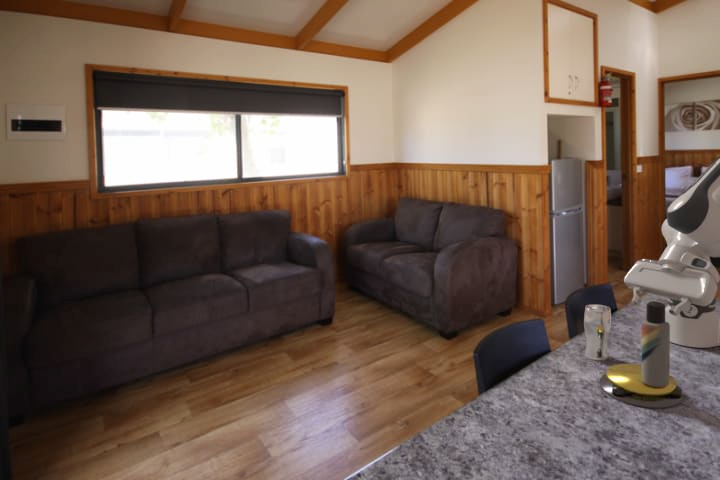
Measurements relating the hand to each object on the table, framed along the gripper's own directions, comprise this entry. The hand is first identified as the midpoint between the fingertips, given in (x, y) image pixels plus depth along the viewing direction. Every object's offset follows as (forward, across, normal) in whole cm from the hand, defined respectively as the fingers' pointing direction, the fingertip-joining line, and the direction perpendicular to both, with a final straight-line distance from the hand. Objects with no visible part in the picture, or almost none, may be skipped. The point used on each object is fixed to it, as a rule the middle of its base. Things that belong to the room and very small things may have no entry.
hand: (653, 308), depth 116 cm
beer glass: (+12, -18, +17) cm, 27 cm away
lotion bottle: (+15, +4, +9) cm, 18 cm away
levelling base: (+18, 0, +11) cm, 21 cm away
